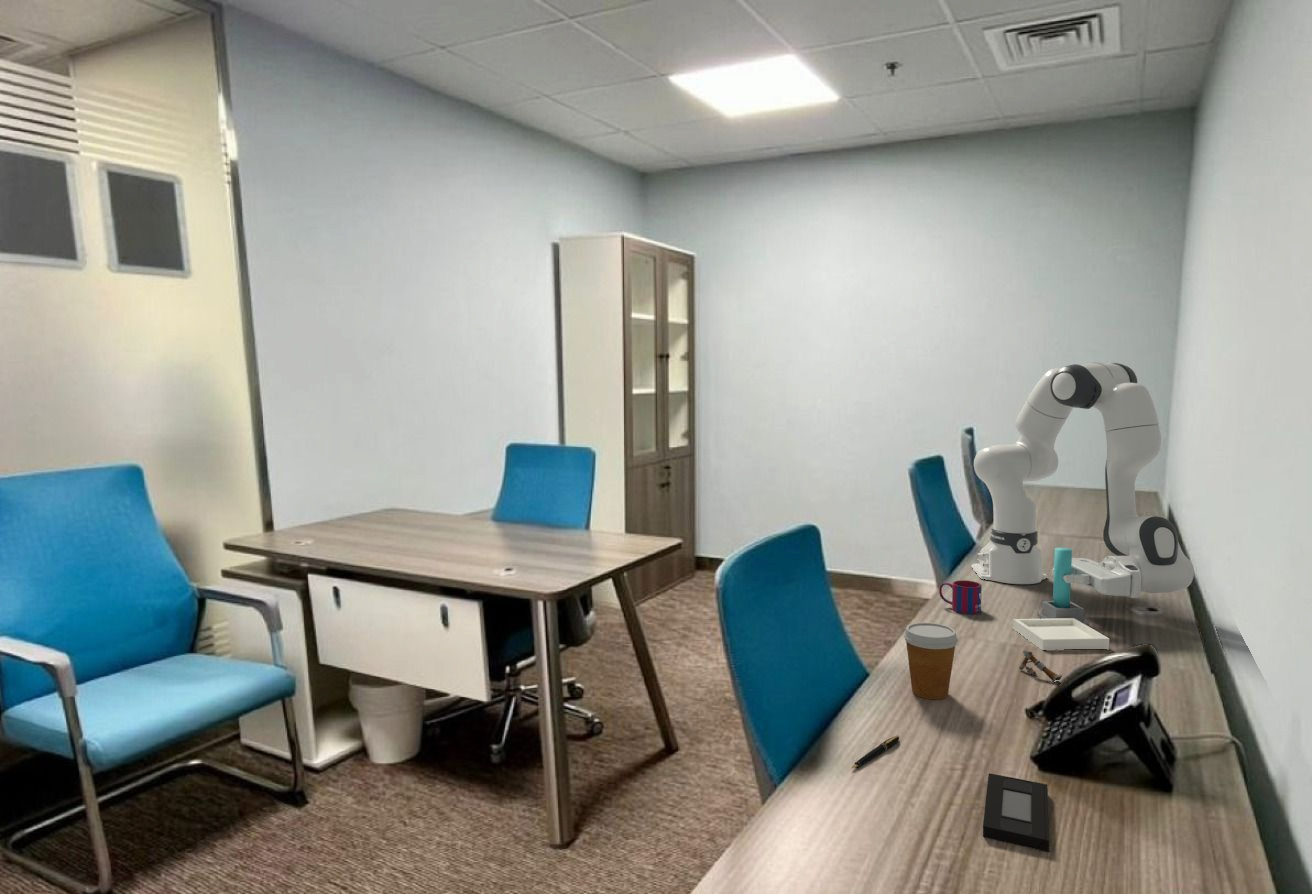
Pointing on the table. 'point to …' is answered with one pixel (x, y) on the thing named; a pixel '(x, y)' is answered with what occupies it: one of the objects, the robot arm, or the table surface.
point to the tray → (1060, 634)
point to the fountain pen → (876, 751)
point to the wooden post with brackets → (1039, 665)
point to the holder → (1062, 612)
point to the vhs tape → (1017, 812)
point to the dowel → (1062, 567)
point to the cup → (964, 596)
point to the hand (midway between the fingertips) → (1058, 575)
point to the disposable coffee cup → (930, 658)
